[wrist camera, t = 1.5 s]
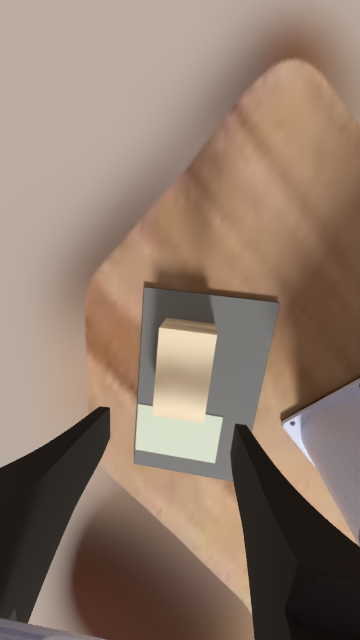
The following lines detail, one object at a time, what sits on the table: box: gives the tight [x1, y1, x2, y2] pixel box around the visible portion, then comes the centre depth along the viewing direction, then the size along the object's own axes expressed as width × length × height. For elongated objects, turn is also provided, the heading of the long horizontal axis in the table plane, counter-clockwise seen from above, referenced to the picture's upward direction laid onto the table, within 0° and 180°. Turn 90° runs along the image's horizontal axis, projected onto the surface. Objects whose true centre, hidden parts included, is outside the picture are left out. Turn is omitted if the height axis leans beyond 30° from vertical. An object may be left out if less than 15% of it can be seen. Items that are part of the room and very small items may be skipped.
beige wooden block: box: [152, 318, 217, 424], centre depth 19 cm, size 8×4×3 cm, turn 175°
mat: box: [134, 287, 280, 482], centre depth 22 cm, size 20×12×1 cm, turn 175°
